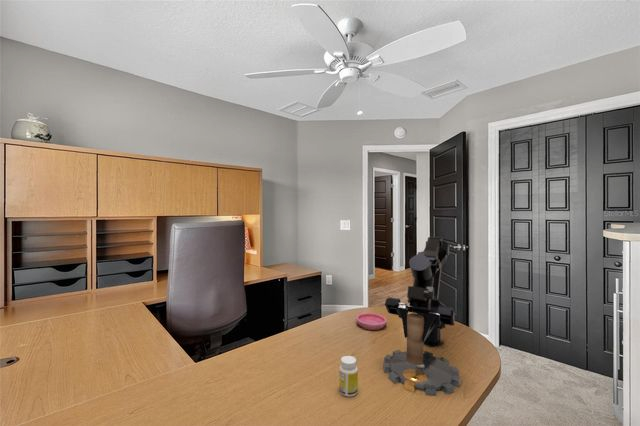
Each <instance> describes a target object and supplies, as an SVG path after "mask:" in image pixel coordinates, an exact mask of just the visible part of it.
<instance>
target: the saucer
mask: <svg viewBox="0 0 640 426" xmlns="http://www.w3.org/2000/svg"><path fill="white" fill-rule="evenodd" d="M355 320H356V322H357V324H358V325H359V326H360V327H361V328H362V329H365V330H368V331H378V330H382V329H383V328H384V327H385V326H386V325H387V323H388V320H387V318H386V317H385V316H383V315H381V314H377V313H373V312H365V313H360V314H358V315H357V316H356V318H355Z"/></svg>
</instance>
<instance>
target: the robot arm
mask: <svg viewBox="0 0 640 426" xmlns="http://www.w3.org/2000/svg"><path fill="white" fill-rule="evenodd" d="M449 255H450V245H449V243H448V242H447V241H446V240H444V239H443V237H439V236H430V237H428V236H427V241H426V242H425V247H424V250H423V251H419V252H417V254H416V255H413V256H412V257H411V258H410V259H409V261H408V263H409V264H408V265H409V267H410V272H411V276H412V278H413V283H412V286H410V285H408V286H407V294H406V297H407V303H409V304H407V303H403V302H402V301H401V299H400V298H396V297H390V296H389V297H387V298H386V299H385V302H384V306H385V308H386V311H387V313H389V314H391V315H395V316H398V318H399V319H401V321H402V328H403V335H404V336H403V337H404V339H405V338H406V339H407V315H408V314H409V313H415V314H420V315H422V316H423V317H424V332H423V338H422V341H423V344H425V345H427V346H429V347H437V346H439V345H442V344H444V341H443V340H441V330H443V329H445V328H446V326H451V327H452V326H455V311H454V310H455V309H454V308H453V307H450V306H444V305H441V303H440V301H439V295H440V285H441V276H442V269H443V268H442V266H443V265H444V264H445V263H446V262H447V260H448V257H449Z"/></svg>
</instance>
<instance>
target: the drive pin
mask: <svg viewBox="0 0 640 426" xmlns="http://www.w3.org/2000/svg"><path fill="white" fill-rule="evenodd" d="M423 332H424V317H423V316H422V315H420V314H417V313H412V312H410V313H408V315H407V338H406V352H407V362H409V363H410V364H413V365H421V364H423V353H424V343H423V341H422V338H423Z"/></svg>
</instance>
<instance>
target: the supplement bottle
mask: <svg viewBox="0 0 640 426" xmlns="http://www.w3.org/2000/svg"><path fill="white" fill-rule="evenodd" d="M338 369H339V372H338V373H339V377H338V378H339V379H338V381H339V383H338V384H339V385H338V386H339V387H338V388H339V393H340V394H341V395H342V396H344V397H347V398H348V397H350V398H352V397H354V396H356V395H357V394H358V389H359V387H358V384H359V383H358V381H359V380H358V379H359V377H358V375H359V374H358V373H359V372H358V370H359V369H358V366H357V359H356V357H354V356H352V355H344V356H342V357H341V358H340V365H339V368H338Z"/></svg>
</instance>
